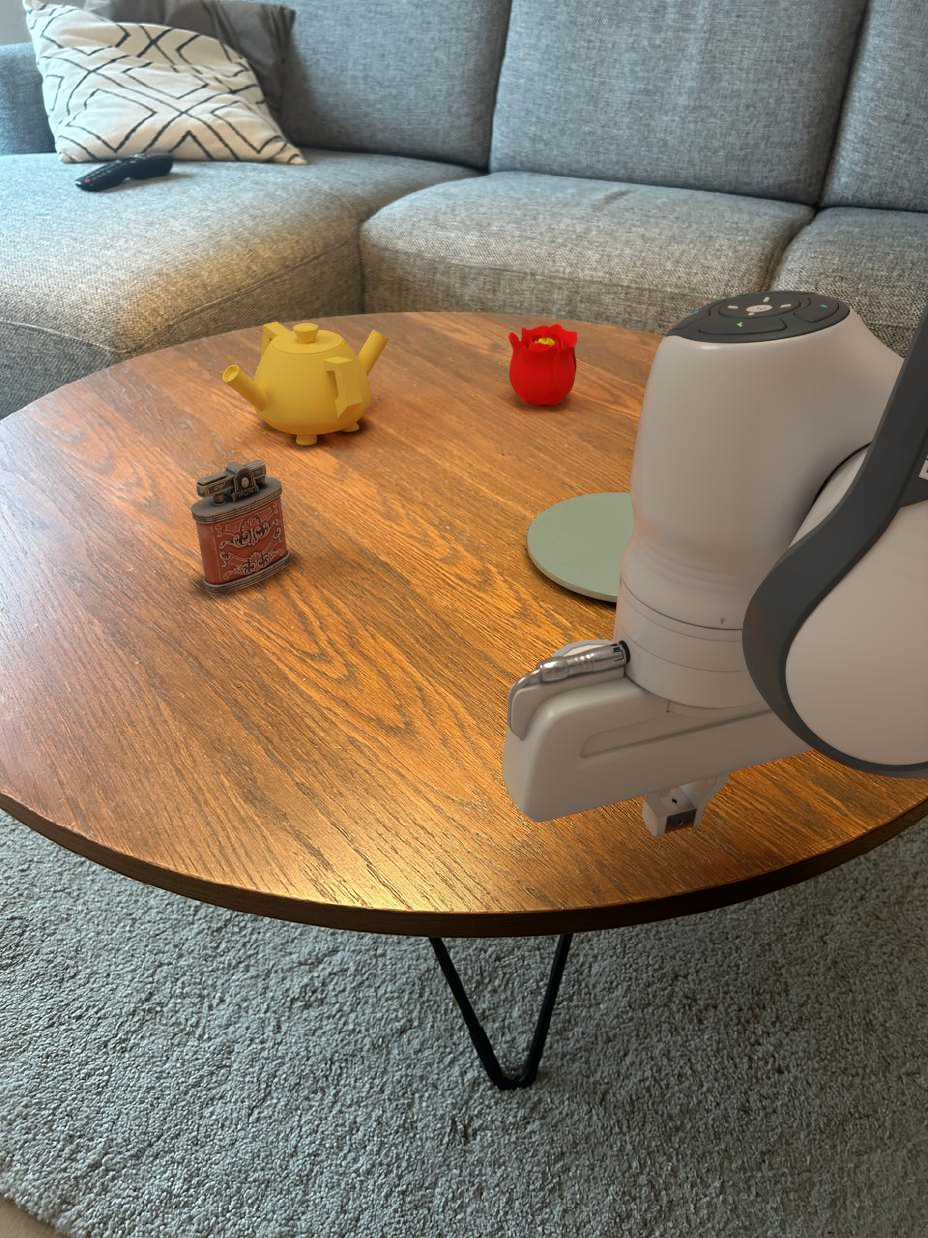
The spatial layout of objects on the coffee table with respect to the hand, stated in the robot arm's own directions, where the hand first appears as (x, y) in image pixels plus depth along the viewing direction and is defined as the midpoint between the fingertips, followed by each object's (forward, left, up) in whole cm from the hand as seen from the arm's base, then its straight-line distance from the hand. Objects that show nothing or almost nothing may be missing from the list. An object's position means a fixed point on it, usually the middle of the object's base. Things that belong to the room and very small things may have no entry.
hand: (670, 823), depth 58 cm
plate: (+32, -14, -3) cm, 35 cm away
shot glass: (+10, 0, -3) cm, 11 cm away
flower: (+66, -20, -3) cm, 69 cm away
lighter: (+40, +18, -3) cm, 44 cm away
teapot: (+68, +6, -3) cm, 68 cm away
